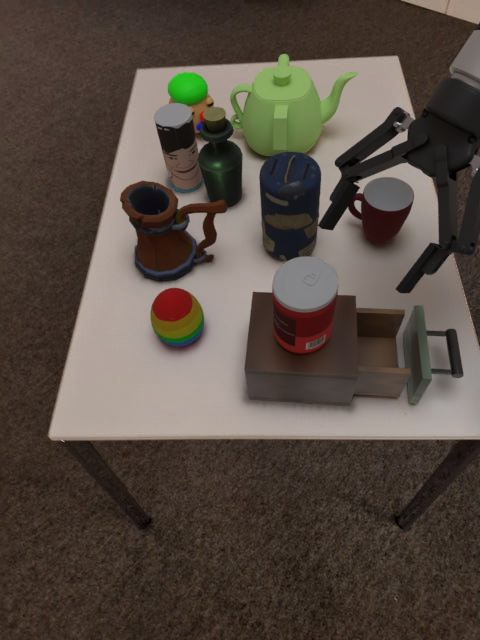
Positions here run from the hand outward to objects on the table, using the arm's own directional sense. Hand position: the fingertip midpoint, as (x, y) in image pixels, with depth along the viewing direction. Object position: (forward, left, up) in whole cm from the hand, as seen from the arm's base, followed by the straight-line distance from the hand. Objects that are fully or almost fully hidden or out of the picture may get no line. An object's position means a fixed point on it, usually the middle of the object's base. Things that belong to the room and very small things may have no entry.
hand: (361, 258), depth 60 cm
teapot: (+47, -16, -18) cm, 53 cm away
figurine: (+60, +1, -18) cm, 62 cm away
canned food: (-1, +9, -9) cm, 13 cm away
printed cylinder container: (+46, +9, -18) cm, 50 cm away
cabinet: (-1, +9, -18) cm, 20 cm away
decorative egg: (+13, +23, -18) cm, 32 cm away
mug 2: (+16, -15, -18) cm, 29 cm away
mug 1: (+27, +17, -18) cm, 37 cm away
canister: (+21, -1, -18) cm, 28 cm away
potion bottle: (+38, +4, -18) cm, 42 cm away
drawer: (-8, -2, -17) cm, 19 cm away
